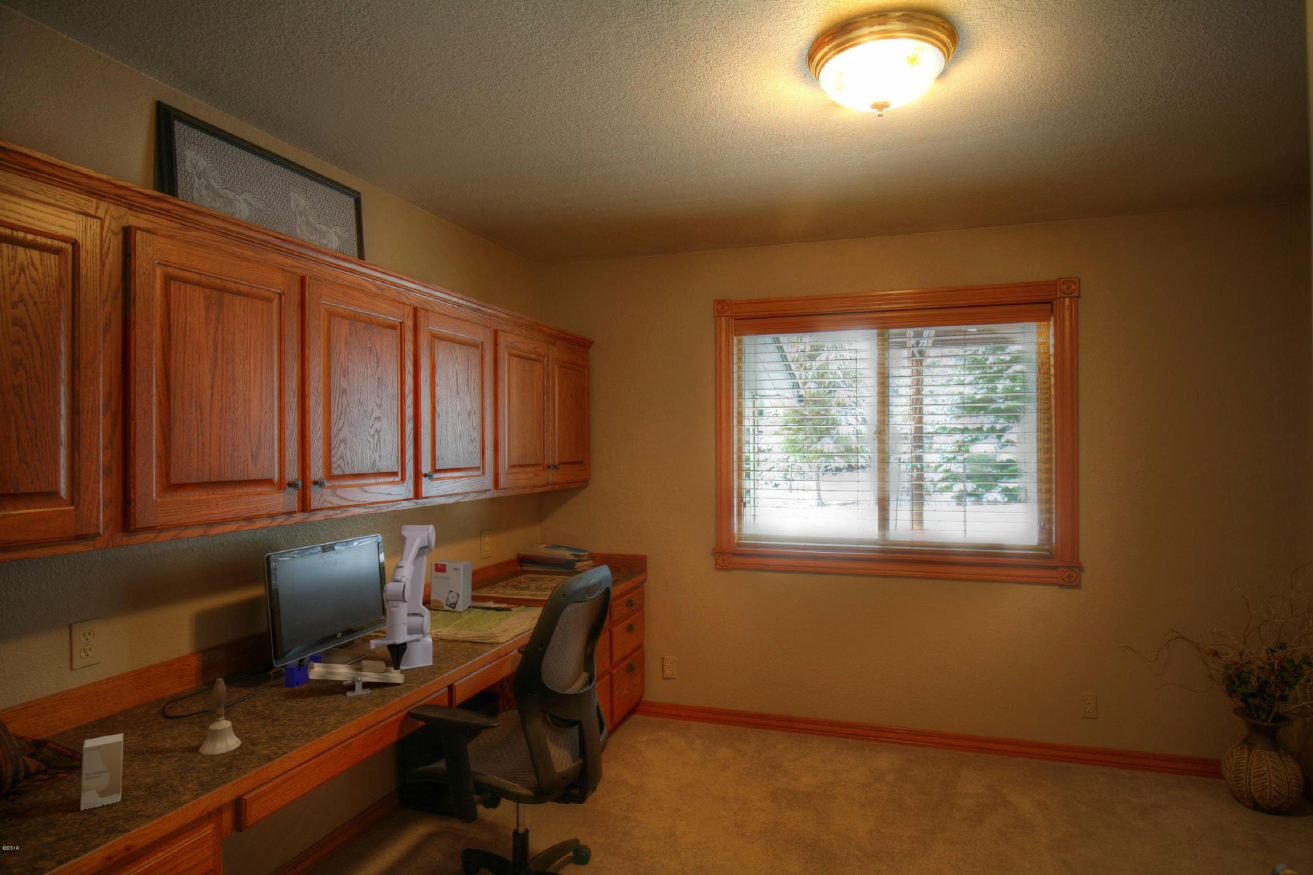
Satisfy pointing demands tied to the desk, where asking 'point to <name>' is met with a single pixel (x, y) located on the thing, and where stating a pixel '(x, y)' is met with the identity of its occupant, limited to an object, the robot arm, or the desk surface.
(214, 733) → the hand bell
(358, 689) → the pivot stand
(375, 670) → the block
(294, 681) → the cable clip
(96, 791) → the skincare box
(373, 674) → the balance beam
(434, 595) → the hard drive box
